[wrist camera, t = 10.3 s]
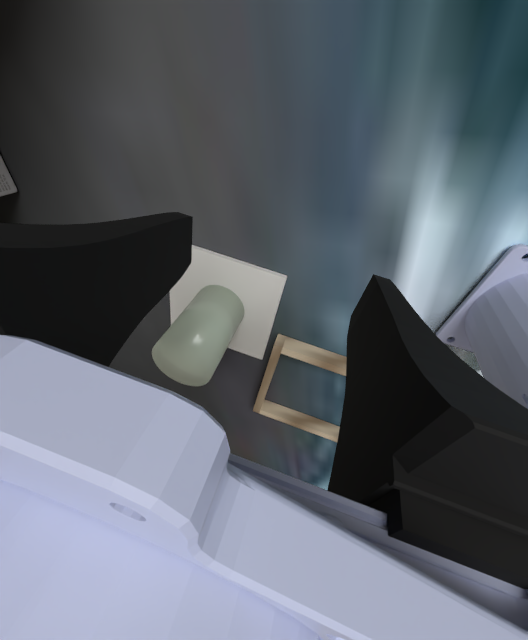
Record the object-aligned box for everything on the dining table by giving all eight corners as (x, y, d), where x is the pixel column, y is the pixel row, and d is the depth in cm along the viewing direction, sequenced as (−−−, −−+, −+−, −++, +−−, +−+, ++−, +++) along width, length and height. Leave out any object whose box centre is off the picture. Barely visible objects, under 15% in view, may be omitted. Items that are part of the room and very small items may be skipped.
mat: (287, 275, 22) (286, 278, 22) (263, 357, 29) (262, 360, 28) (170, 237, 23) (167, 239, 22) (173, 325, 29) (171, 327, 29)
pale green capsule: (238, 344, 28) (208, 405, 22) (195, 329, 28) (155, 385, 23) (248, 294, 24) (213, 354, 18) (197, 278, 24) (149, 332, 19)
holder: (401, 375, 25) (402, 389, 24) (350, 434, 33) (349, 446, 32) (278, 333, 26) (274, 344, 25) (256, 400, 34) (252, 410, 33)
